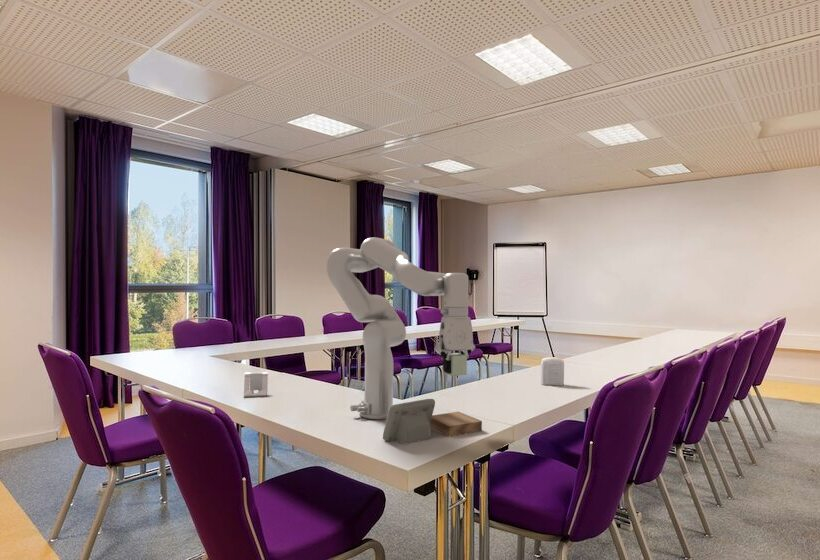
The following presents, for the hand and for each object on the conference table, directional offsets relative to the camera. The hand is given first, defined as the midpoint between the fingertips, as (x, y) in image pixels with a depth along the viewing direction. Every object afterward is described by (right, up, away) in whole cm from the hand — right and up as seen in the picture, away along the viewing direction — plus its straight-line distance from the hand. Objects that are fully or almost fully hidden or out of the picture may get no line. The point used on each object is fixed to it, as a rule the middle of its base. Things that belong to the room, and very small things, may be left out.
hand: (454, 371), depth 146 cm
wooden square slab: (0, -17, 0) cm, 17 cm away
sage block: (0, -1, 0) cm, 1 cm away
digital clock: (-14, -17, -10) cm, 24 cm away
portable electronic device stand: (-74, -17, +39) cm, 85 cm away
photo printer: (+50, -19, +68) cm, 87 cm away
